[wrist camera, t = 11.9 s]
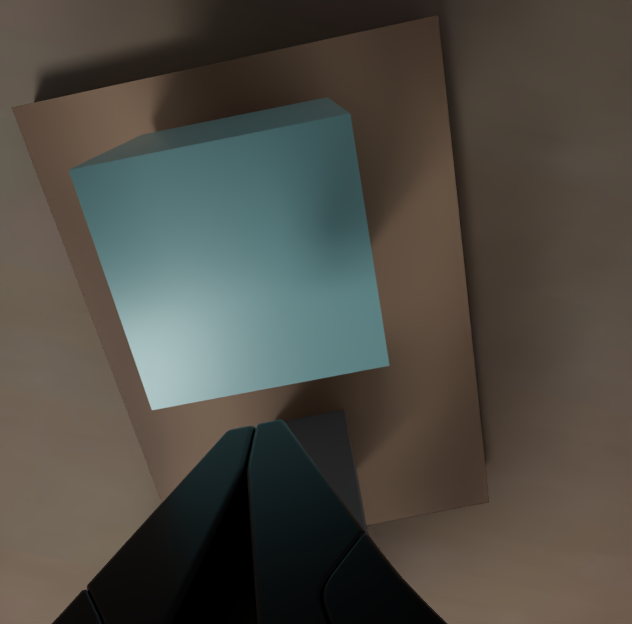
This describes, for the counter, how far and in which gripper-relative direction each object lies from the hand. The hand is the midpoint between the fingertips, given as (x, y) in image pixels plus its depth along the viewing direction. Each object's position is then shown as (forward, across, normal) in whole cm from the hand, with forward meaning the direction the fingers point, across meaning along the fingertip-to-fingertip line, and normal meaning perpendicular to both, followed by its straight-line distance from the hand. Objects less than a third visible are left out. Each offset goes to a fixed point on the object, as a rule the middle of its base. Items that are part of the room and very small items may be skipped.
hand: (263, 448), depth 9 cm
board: (+12, 0, +3) cm, 12 cm away
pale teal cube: (+10, 0, -2) cm, 10 cm away
